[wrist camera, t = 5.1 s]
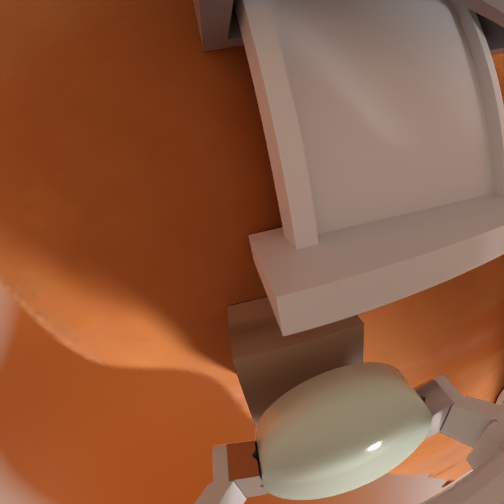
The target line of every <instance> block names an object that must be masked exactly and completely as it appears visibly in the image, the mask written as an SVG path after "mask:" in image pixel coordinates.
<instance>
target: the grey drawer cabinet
mask: <svg viewBox="0 0 504 504" xmlns="http://www.w3.org/2000/svg"><path fill="white" fill-rule="evenodd" d="M450 1H452V2H454V3H457V4H459V5H461V6H463V7H466V8H468V9H470V10H472V11H474V12H476V15H477V17H478V20H479V22H480V25H481V27H482V30H483V32H484V35H485V38H486V41H487V43H488V46H489V49H490V53H491V55H495V54H501V53H504V0H450ZM193 5H194V10H195V15H196V19H197V24H198V29H199V34H200V38H201V43H202V48H203V52H208V51H213V50H218V49H224V48H230V47H237V46H244V42H243V38H242V34H241V31H240V27H239V23H238V19H237V15H236V11H235V7H234V4H233V0H193Z"/></svg>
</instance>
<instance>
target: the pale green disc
mask: <svg viewBox="0 0 504 504" xmlns="http://www.w3.org/2000/svg"><path fill="white" fill-rule="evenodd" d="M431 424H432V414H431V411H430V410H429V408H428V407H427V405H426V404H425V403H424V401H423V400H422V399H421V397H420V396H419V395H418V393H417V392H416V391H415V390H414V388H413V387H412V386H411V384H410V383H409V382H408V380H407V379H406V378H405V376H404V375H403V374H402V373H401V372H400V371H399V370H398V369H396V368H395V367H393V366H390V365H388V364H383V363H372V362H368V363H358V364H352V365H347V366H343V367H340V368H336V369H333V370H330V371H327V372H324V373H322V374H320V375H317V376H315V377H313V378H310V379H309V380H307V381H305V382H303V383H301V384H299V385H297V386H296V387H294V388H293V389H291V390H289V391H288V392H286V393H285V394H284V395H282V396H281V397H280V398H278V399H277V400H276V401H275V402H274V403H273V404H272V405H271V406H270V407H269V408H268V409H267V410H266V411H265V412H264V414H263V415H262V417H261V418H260V420H259V422H258V424H257V427H256V431H255V440H256V446H257V452H258V459H259V465H260V471H261V477H262V484H263V487H264V488H265V490H266V491H267V492H269V493H270V494H272V495H274V496H277V497H280V498H285V499H292V500H309V499H319V498H325V497H330V496H334V495H337V494H341V493H344V492H348V491H350V490H353V489H356V488H358V487H361V486H363V485H365V484H367V483H369V482H372V481H373V480H375V479H377V478H379V477H380V476H382V475H384V474H386V473H387V472H389V471H390V470H392V469H393V468H395V467H396V466H398V465H399V464H400V463H401V462H403V461H404V460H405V459H406V458H407V457H408V456H409V455H411V454H412V453H413V452H414V451H415V449H416V448H417V447H418V446H419V445H420V444H421V442H422V441H423V440H424V438H425V437H426V435H427V433H428V431H429V429H430V427H431Z"/></svg>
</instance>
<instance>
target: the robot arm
mask: <svg viewBox="0 0 504 504" xmlns="http://www.w3.org/2000/svg"><path fill="white" fill-rule="evenodd" d="M414 390H415V391H416V392H417V393H418V395H419V396H420V397H421V399H422V400H423V401H424V403H425V404H426V405H427V407H428V408H429V410H430V411H431V414H432V424H431V427H430V429H429V431H428V433H427V435H426V437H425V438H424V440H425V439H427V438H429V437H431V436H432V435H434V434H436V433H438V432H440V433H442V434H444V435H446V436H448V437H450V438H453V439H455V440H457V441H459V442H461V443H463V444H466V445H468V446H470V447H472V448H473V449H472V450H471V452H470V453H469V454H468V456H467V459H466V460H467V461H468V463H469V464H470V466H471V467H472V469H473V471H472V472H470V473H469V474H468V475H467V476H465V477H463V478H462V479H460V480H459V481H457V482H456V483H454V484H453V485H451V486H450V487H448V488H447V489H445V490H443V491H442V492H440V493H438V494H437V495H435V496H433V497H431V498H430V499H428V500H426V501H424V502H422V503H421V504H504V389H503V390H502V392H501V393H500V395H499V397H498V399H497V401H496V404H495V403H491V402H487V401H483V400H480V399H476V398H473V397H469V396H466V397H464V396H463V395H462V394H461V393H460V392H459V391H458V390H457V389H456V387H455V386H454V385H453V384H452V383H451V382H450V381H449V380H448V379H447V378H446V376H445V375H443V374H440V375H438V376H436V377H434V378H433V379H430V380H428V381H426V382H424V383H423V384H421V385H419V386H417V387H415V388H414ZM264 494H268V492H267V491H266V490H265V488H264V487H263V484H262V477H261V471H260V465H259V459H258V452H257V446H256V441H255V440H251V441H245V442H239V443H232V444H223V445H216V446H214V447H213V483H209V484H208V486H207V487H206V489H205V490H204V491H203V493H202V494H201V495H200V497H199V498H198V499H197V501H196V502H195V504H244V502H245V500H246V497H253V496H258V495H264Z"/></svg>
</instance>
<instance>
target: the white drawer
mask: <svg viewBox="0 0 504 504" xmlns="http://www.w3.org/2000/svg"><path fill="white" fill-rule="evenodd" d="M233 4H234V7H235V11H236V15H237V19H238V23H239V27H240V31H241V34H242V38H243V42H244V46H245V51H246V55H247V59H248V63H249V67H250V71H251V76H252V80H253V84H254V89H255V93H256V97H257V102H258V106H259V111H260V116H261V120H262V125H263V129H264V134H265V139H266V144H267V149H268V153H269V158H270V163H271V168H272V173H273V178H274V184H275V189H276V194H277V199H278V205H279V210H280V215H281V221H282V226H283V227H282V228H277V229H273V230H269V231H264V232H260V233H256V234H251V235H248V237H249V241H250V246H251V250H252V255H253V260H254V263H255V265H256V268H257V271H258V273H259V276H260V278H261V281H262V283H263V286H264V289H265V291H266V294H267V296H268V299H269V301H270V304H271V307H272V309H273V312H274V314H275V317H276V320H277V322H278V325H279V327H280V330H281V332H282V335H283V336H287V335H291V334H295V333H298V332H302V331H305V330H309V329H312V328H316V327H319V326H323V325H326V324H329V323H333V322H336V321H339V320H342V319H345V318H349V317H352V316H355V315H358V314H361V313H364V312H367V311H370V310H373V309H375V308H378V307H381V306H384V305H387V304H389V303H392V302H395V301H398V300H400V299H403V298H406V297H408V296H411V295H413V294H416V293H418V292H421V291H423V290H426V289H428V288H431V287H433V286H436V285H438V284H441V283H443V282H445V281H448V280H450V279H452V278H454V277H457V276H459V275H461V274H463V273H466V272H468V271H470V270H472V269H474V268H476V267H479V266H481V265H483V264H485V263H487V262H489V261H491V260H493V259H495V258H497V257H499V256H501V255H503V254H504V104H503V99H502V94H501V90H500V85H499V81H498V77H497V73H496V70H495V66H494V62H493V59H492V56H491V53H490V49H489V46H488V43H487V41H486V38H485V35H484V32H483V30H482V27H481V25H480V22H479V20H478V17H477V15H476V12H474V11H472V10H470V9H468V8H466V7H463V6H461V5H459V4H457V3H454V2H452V1H450V0H233Z"/></svg>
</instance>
